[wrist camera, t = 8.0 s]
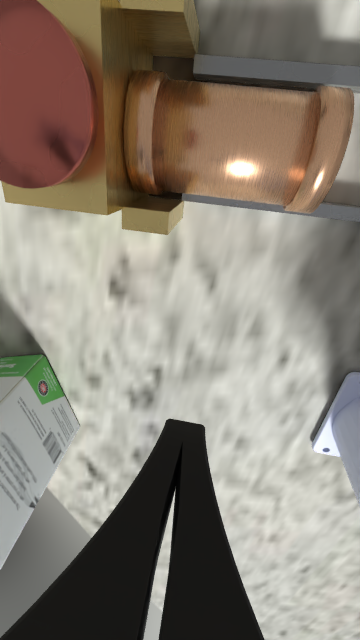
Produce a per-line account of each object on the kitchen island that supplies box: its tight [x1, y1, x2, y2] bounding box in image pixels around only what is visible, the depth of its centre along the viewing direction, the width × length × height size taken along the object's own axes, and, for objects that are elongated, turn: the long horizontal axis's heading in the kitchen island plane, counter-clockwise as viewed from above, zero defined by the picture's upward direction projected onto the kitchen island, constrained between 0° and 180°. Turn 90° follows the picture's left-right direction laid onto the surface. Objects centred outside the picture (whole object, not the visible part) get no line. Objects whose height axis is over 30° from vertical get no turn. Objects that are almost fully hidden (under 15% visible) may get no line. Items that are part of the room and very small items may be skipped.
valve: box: [0, 0, 200, 235], centre depth 11 cm, size 9×8×8 cm
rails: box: [182, 54, 360, 222], centre depth 13 cm, size 11×6×1 cm, turn 85°
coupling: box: [123, 70, 354, 214], centre depth 12 cm, size 8×4×4 cm, turn 85°
